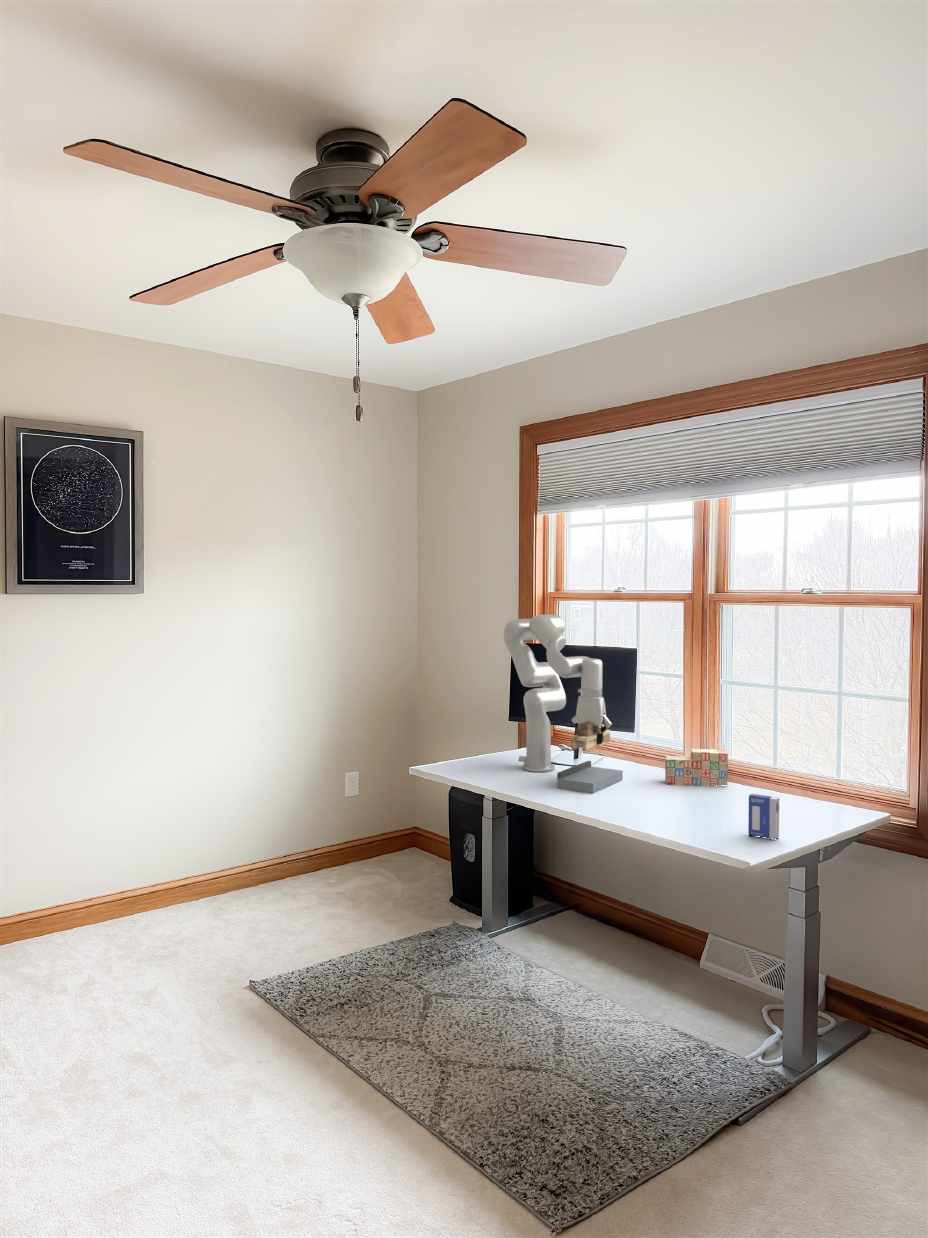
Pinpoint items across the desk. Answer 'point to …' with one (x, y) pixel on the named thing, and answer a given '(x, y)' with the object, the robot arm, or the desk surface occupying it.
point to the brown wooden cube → (585, 729)
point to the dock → (587, 778)
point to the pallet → (588, 741)
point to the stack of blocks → (698, 768)
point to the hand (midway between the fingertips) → (591, 742)
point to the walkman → (763, 816)
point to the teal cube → (596, 728)
